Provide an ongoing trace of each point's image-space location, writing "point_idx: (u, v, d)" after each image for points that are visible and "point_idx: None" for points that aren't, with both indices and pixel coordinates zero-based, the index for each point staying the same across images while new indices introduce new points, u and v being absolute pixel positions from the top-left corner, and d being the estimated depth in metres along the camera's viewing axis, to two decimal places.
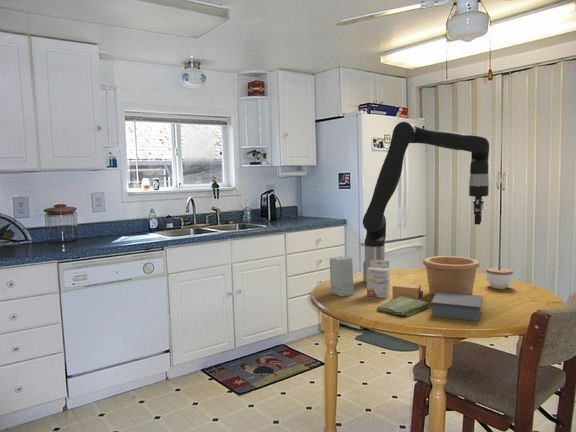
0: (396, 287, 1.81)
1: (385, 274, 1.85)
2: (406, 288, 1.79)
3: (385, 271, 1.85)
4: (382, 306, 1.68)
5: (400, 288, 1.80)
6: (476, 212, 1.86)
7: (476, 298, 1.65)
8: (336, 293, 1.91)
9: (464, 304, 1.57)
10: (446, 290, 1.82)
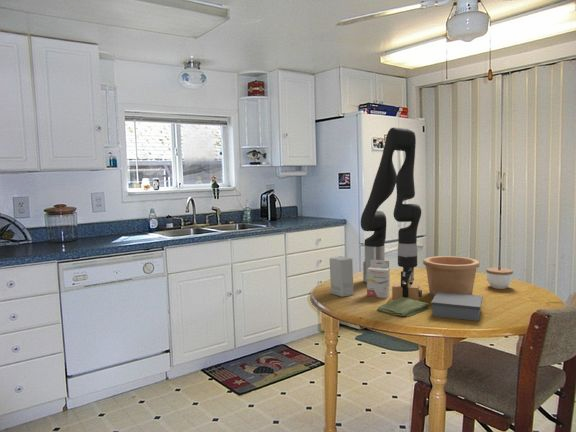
0: (396, 287, 1.81)
1: (385, 274, 1.85)
2: None
3: (385, 271, 1.85)
4: (382, 307, 1.68)
5: (400, 288, 1.80)
6: (403, 285, 1.75)
7: (476, 298, 1.65)
8: (336, 293, 1.91)
9: (464, 304, 1.57)
10: (446, 290, 1.82)
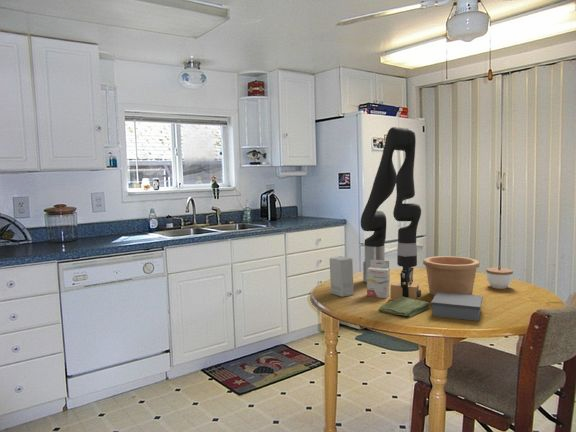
0: (394, 286, 1.81)
1: (385, 274, 1.85)
2: None
3: (385, 271, 1.85)
4: (384, 307, 1.67)
5: (398, 287, 1.80)
6: (403, 286, 1.77)
7: (476, 298, 1.65)
8: (336, 293, 1.91)
9: (464, 304, 1.57)
10: (446, 290, 1.82)
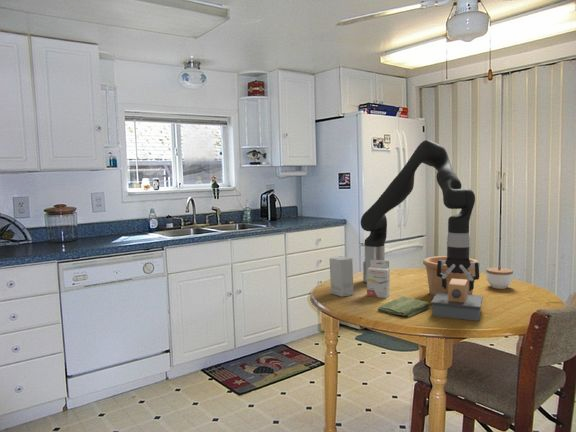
0: (451, 280, 1.69)
1: (385, 274, 1.85)
2: None
3: (385, 271, 1.85)
4: (383, 306, 1.67)
5: None
6: None
7: (476, 298, 1.65)
8: (336, 293, 1.91)
9: (464, 304, 1.57)
10: (446, 290, 1.82)
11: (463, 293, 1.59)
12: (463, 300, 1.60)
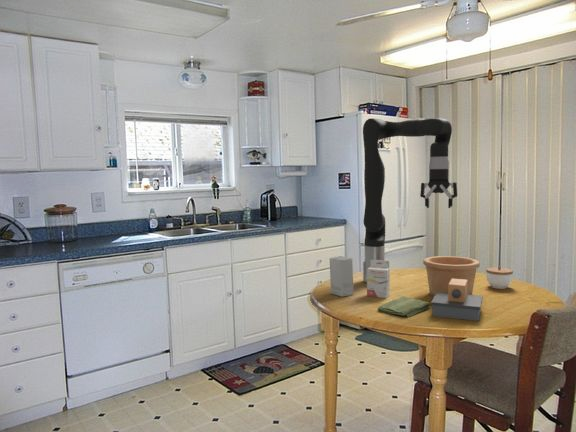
0: (451, 280, 1.69)
1: (385, 274, 1.85)
2: None
3: (385, 271, 1.85)
4: (383, 306, 1.68)
5: None
6: None
7: (476, 298, 1.65)
8: (336, 293, 1.91)
9: (464, 304, 1.57)
10: (446, 290, 1.82)
11: (463, 293, 1.59)
12: (463, 300, 1.60)
